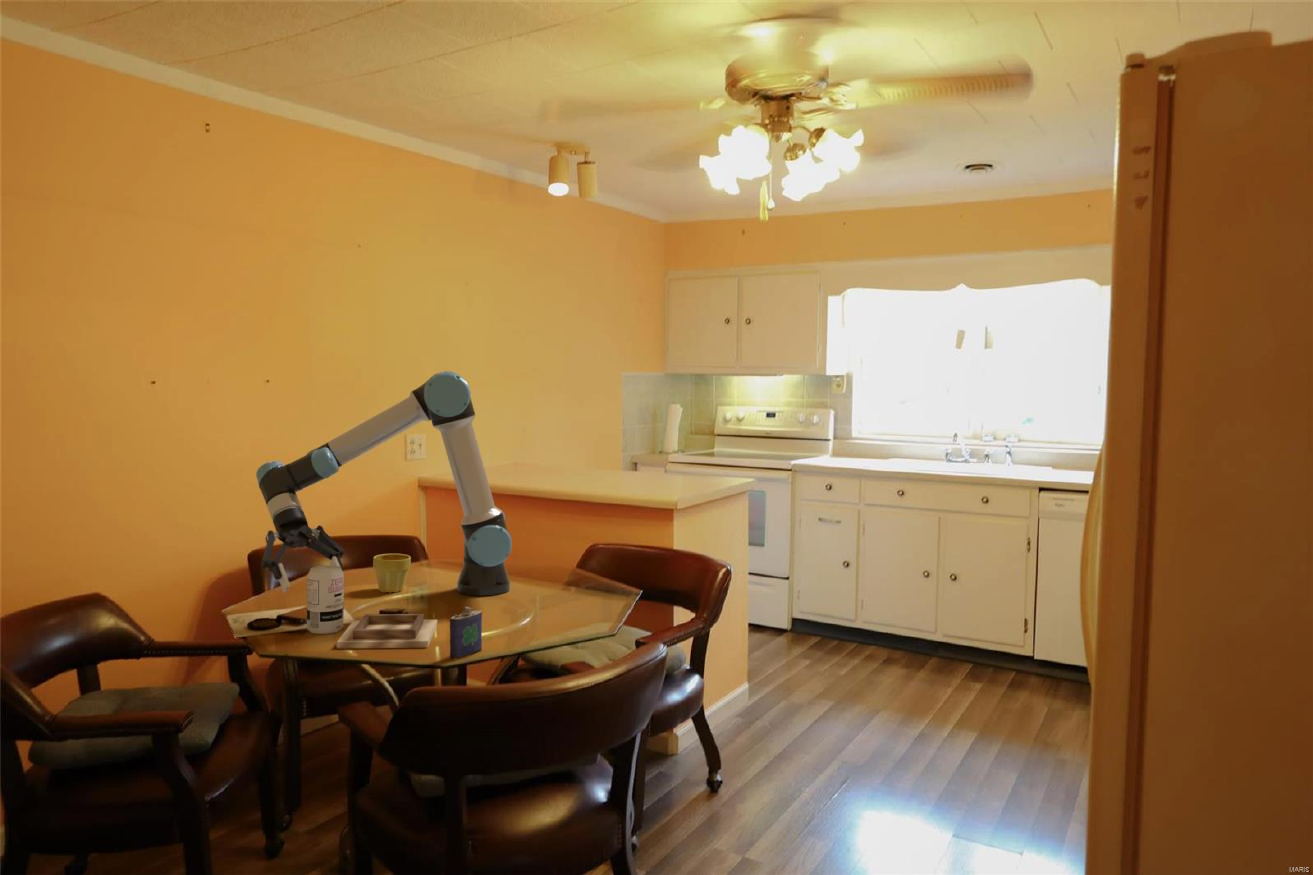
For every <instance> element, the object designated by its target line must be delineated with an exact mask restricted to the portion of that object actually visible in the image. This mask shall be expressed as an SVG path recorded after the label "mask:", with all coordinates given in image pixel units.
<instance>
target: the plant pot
mask: <svg viewBox="0 0 1313 875" xmlns="http://www.w3.org/2000/svg"><path fill="white" fill-rule="evenodd" d="M372 559H373V560H372V561H373V562H372V565H373V566H372V568H373V570H375V574H376V575H375V576H376V579H377V586H378V590H379V592H380V593H385V592H389V593H388V594H392V593H391V592H395V593H399V591H400V592H403V591H404V589H405V583H406V580H407V575H408V571H409V569H410V568H411V564H412V563H411V561H412V560H411V559H412V557H411V556H410V555H408V554H402V553H383V554H377V555H375V556H373V558H372Z"/></svg>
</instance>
